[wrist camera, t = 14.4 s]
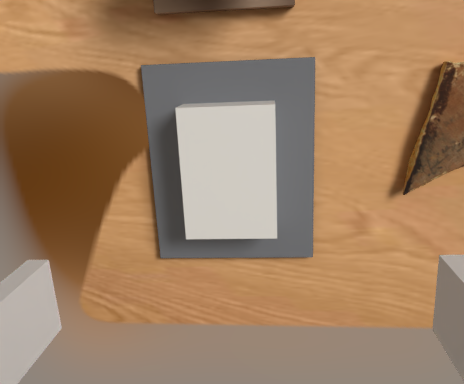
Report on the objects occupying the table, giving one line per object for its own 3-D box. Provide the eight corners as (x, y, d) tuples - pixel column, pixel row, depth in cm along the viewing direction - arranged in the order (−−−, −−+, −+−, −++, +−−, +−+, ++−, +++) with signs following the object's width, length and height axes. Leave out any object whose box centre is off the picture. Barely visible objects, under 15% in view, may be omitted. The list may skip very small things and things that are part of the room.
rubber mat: (143, 65, 33) (141, 65, 32) (314, 57, 32) (315, 57, 31) (162, 255, 37) (160, 258, 37) (312, 254, 36) (312, 257, 36)
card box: (276, 224, 35) (277, 238, 32) (192, 225, 36) (185, 239, 33) (274, 100, 32) (275, 104, 29) (183, 104, 33) (175, 107, 30)
